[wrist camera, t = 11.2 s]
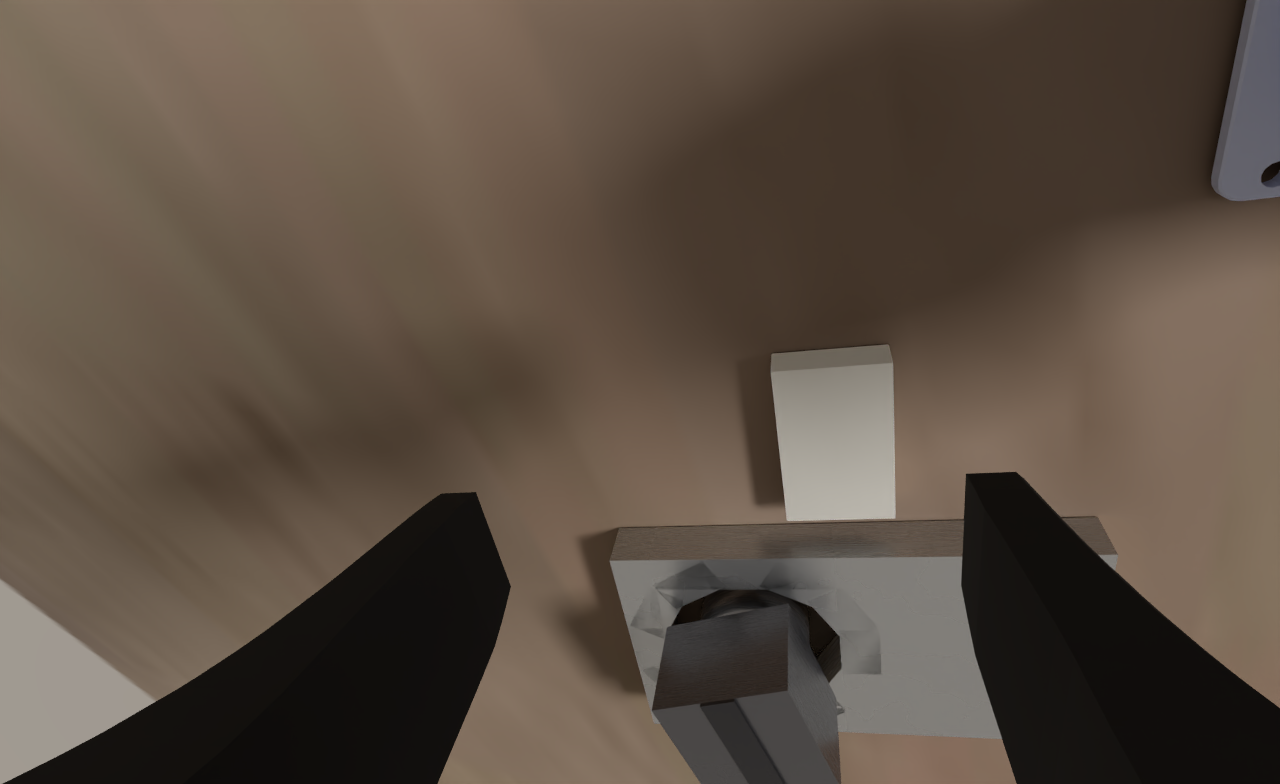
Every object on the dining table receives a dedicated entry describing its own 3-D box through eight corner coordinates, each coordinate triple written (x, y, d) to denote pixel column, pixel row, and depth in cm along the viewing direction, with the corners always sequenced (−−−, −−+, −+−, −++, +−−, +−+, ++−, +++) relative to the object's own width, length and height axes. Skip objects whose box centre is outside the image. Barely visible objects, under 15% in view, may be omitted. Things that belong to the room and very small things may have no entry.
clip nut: (788, 555, 23) (787, 694, 19) (833, 647, 25) (841, 792, 21) (675, 580, 25) (651, 713, 20) (725, 665, 26) (712, 803, 22)
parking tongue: (888, 344, 19) (893, 362, 18) (891, 495, 21) (895, 518, 20) (771, 353, 20) (770, 371, 19) (786, 498, 22) (786, 520, 21)
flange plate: (1097, 517, 20) (1120, 560, 19) (1068, 701, 24) (1085, 748, 23) (619, 528, 24) (608, 565, 22) (660, 688, 28) (653, 728, 26)
